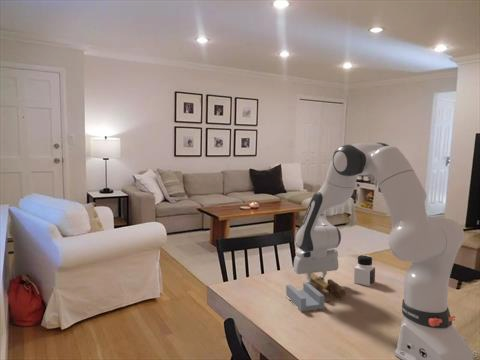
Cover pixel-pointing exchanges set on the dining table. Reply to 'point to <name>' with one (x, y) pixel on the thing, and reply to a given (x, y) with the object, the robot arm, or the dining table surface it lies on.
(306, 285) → the cradle
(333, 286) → the pair of brown bars
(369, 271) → the medicine bottle
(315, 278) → the axle
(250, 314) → the dining table surface
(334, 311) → the dining table surface
